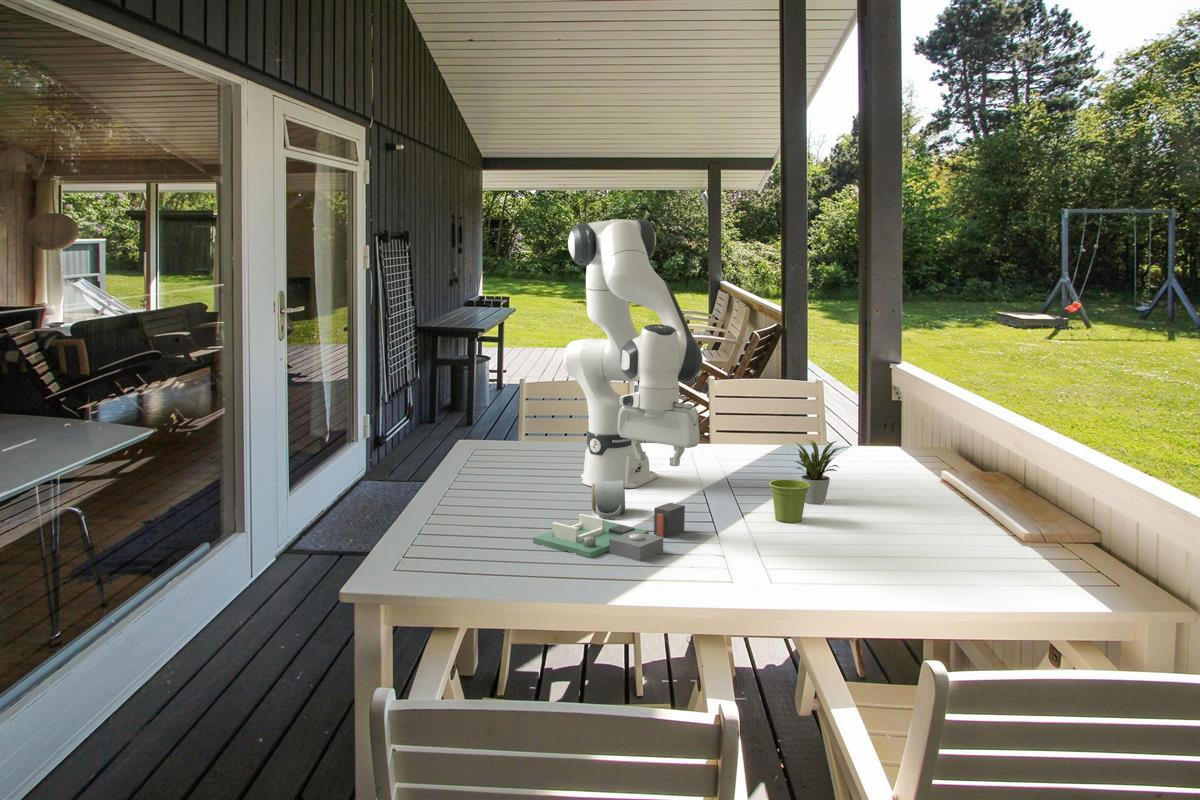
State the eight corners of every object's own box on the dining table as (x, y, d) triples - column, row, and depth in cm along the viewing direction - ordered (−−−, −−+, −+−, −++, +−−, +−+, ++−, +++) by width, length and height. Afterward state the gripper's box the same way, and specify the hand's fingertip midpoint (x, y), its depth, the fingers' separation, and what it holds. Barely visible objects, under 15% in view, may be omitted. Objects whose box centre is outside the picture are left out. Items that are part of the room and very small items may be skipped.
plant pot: (763, 514, 229) (764, 479, 228) (802, 513, 230) (803, 478, 229) (773, 525, 220) (775, 488, 219) (813, 524, 221) (815, 488, 219)
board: (592, 523, 221) (592, 505, 221) (648, 536, 211) (648, 517, 211) (533, 542, 206) (533, 523, 205) (590, 557, 196) (590, 538, 195)
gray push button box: (632, 544, 205) (632, 528, 205) (663, 551, 200) (663, 535, 200) (609, 553, 199) (609, 536, 199) (640, 561, 194) (640, 543, 194)
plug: (669, 528, 217) (670, 502, 216) (684, 531, 215) (684, 505, 214) (652, 534, 212) (652, 508, 211) (666, 538, 210) (667, 511, 209)
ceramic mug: (591, 507, 235) (591, 477, 234) (625, 507, 235) (625, 477, 234) (591, 520, 224) (591, 488, 223) (626, 520, 225) (626, 488, 223)
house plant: (851, 497, 246) (854, 434, 243) (846, 510, 233) (849, 444, 230) (794, 492, 250) (797, 431, 248) (787, 505, 237) (789, 440, 235)
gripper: (706, 403, 204) (704, 467, 205) (631, 394, 217) (630, 454, 219) (689, 406, 199) (687, 471, 201) (613, 397, 212) (612, 458, 214)
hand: (657, 462), depth 210 cm, fingers open, 8 cm apart
